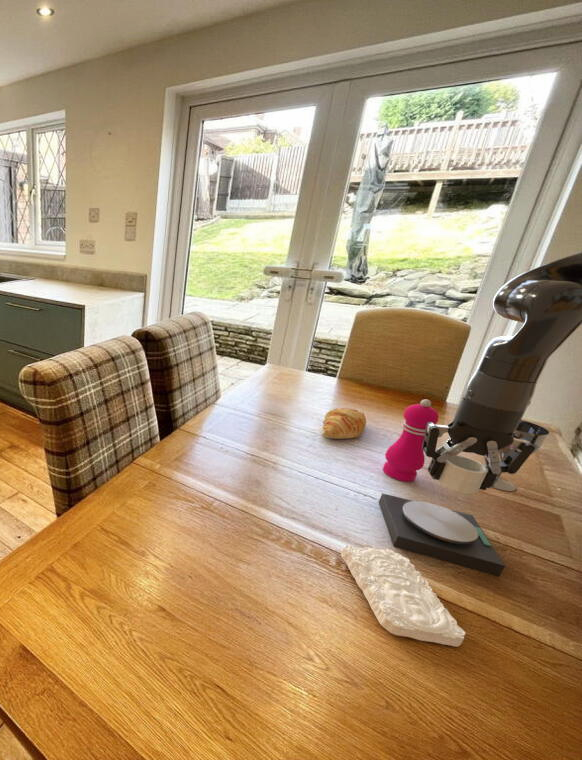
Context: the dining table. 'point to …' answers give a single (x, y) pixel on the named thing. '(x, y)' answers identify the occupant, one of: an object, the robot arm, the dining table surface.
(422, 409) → the pepper mill
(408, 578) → the carved plaster tablet
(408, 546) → the scale
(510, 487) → the wine glass
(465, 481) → the white short hollow cylinder
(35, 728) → the dining table surface
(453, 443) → the robot arm
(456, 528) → the scale pan
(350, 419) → the croissant
